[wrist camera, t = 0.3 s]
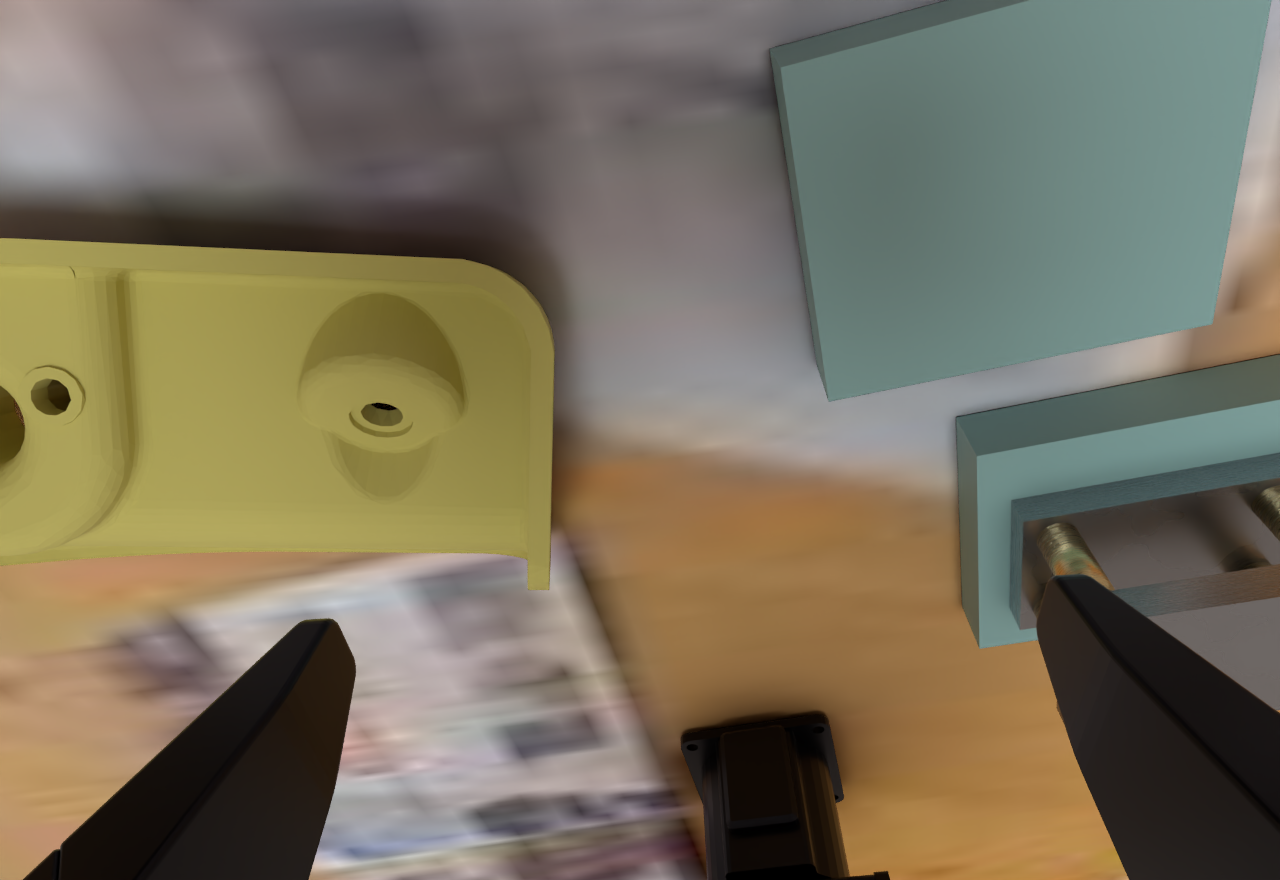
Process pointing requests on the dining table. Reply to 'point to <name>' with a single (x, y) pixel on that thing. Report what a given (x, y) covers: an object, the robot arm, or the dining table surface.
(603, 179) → the dining table surface
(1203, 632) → the housing
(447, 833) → the dining table surface
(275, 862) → the robot arm
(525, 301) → the plastic component
